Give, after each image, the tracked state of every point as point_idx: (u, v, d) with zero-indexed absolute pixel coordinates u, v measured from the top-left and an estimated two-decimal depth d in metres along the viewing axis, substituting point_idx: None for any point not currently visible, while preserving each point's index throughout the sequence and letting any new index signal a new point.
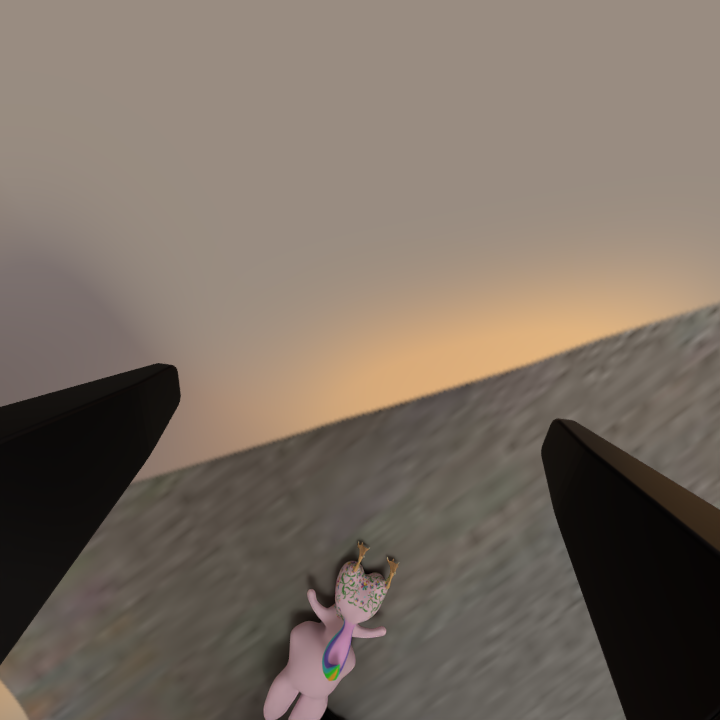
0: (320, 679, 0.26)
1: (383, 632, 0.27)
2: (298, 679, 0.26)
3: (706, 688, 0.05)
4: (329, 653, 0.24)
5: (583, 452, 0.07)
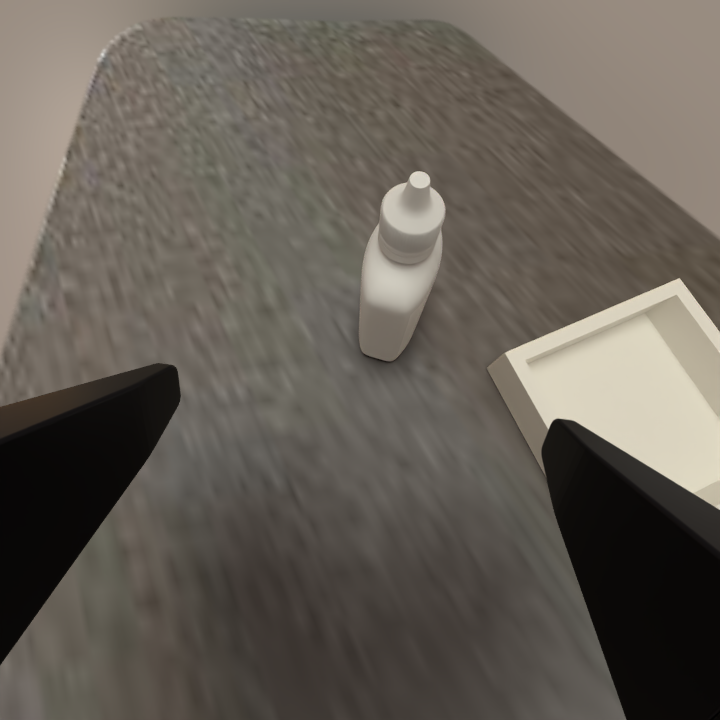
0: None
1: None
2: None
3: (706, 688, 0.05)
4: None
5: (583, 452, 0.07)
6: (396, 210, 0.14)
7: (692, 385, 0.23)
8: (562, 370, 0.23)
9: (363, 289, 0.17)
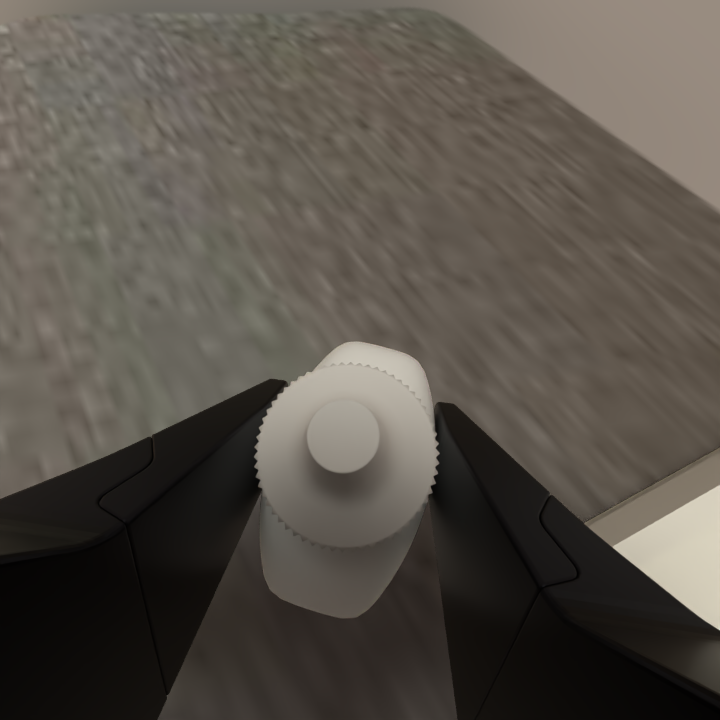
0: None
1: None
2: None
3: (490, 653, 0.05)
4: None
5: (444, 432, 0.08)
6: (290, 476, 0.05)
7: None
8: (646, 566, 0.14)
9: None
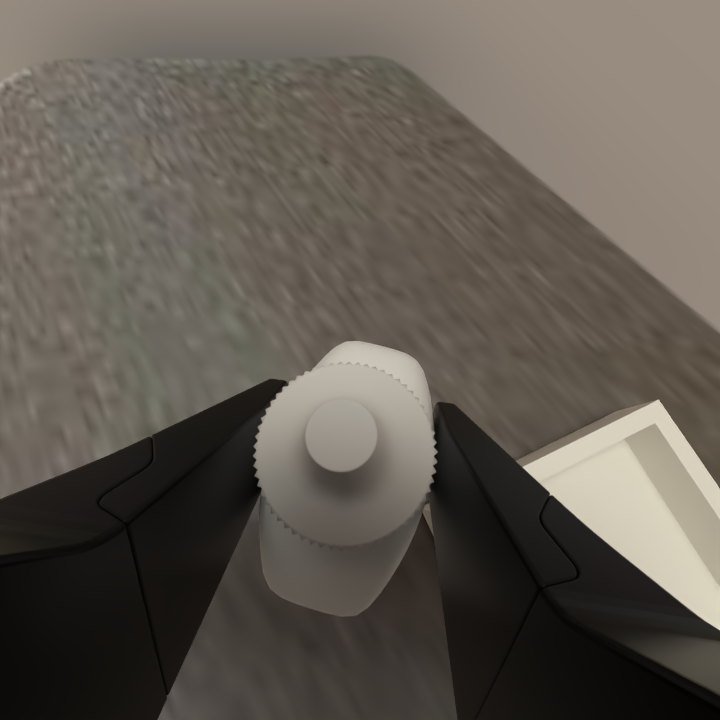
0: None
1: None
2: None
3: (490, 653, 0.05)
4: None
5: (444, 432, 0.08)
6: (289, 475, 0.05)
7: (678, 529, 0.18)
8: None
9: (261, 554, 0.08)
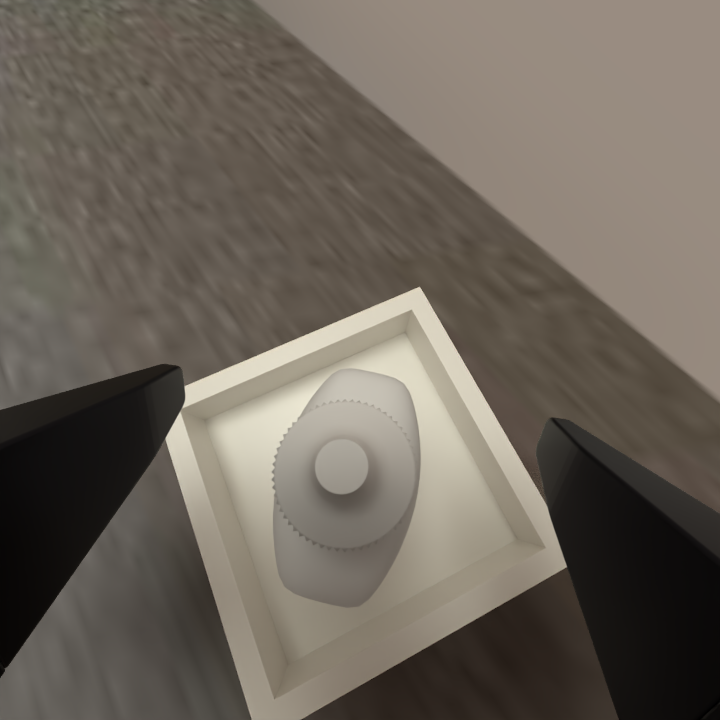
0: None
1: None
2: None
3: (696, 687, 0.05)
4: None
5: (577, 451, 0.07)
6: (302, 495, 0.06)
7: (453, 428, 0.17)
8: (279, 414, 0.17)
9: (276, 557, 0.09)
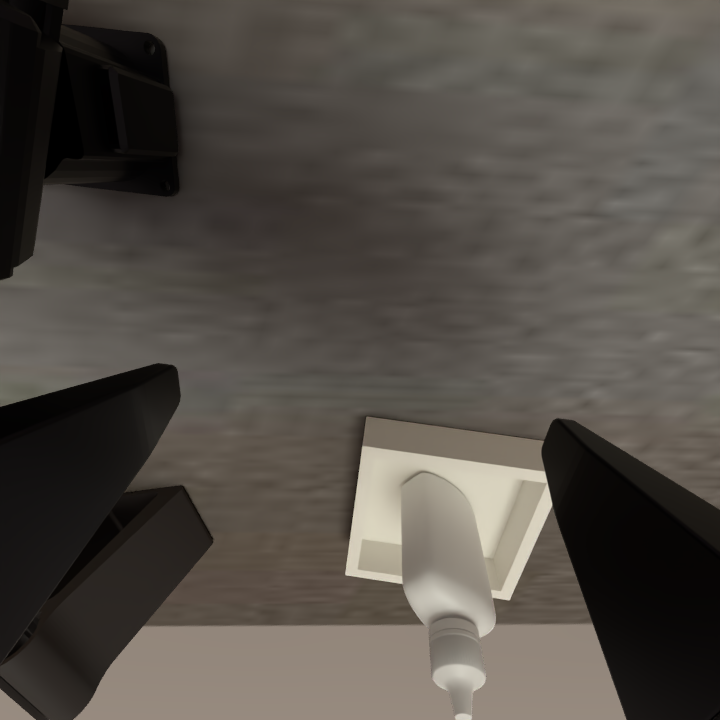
0: None
1: None
2: None
3: (706, 688, 0.05)
4: None
5: (583, 452, 0.07)
6: (461, 675, 0.17)
7: None
8: (502, 488, 0.26)
9: (441, 573, 0.19)
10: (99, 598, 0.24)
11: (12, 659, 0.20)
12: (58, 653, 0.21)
